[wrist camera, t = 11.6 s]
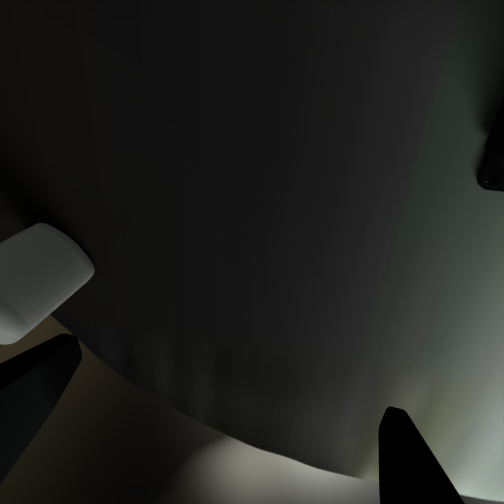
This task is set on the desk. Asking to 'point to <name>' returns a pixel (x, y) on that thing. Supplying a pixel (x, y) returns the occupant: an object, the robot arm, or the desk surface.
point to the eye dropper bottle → (37, 277)
